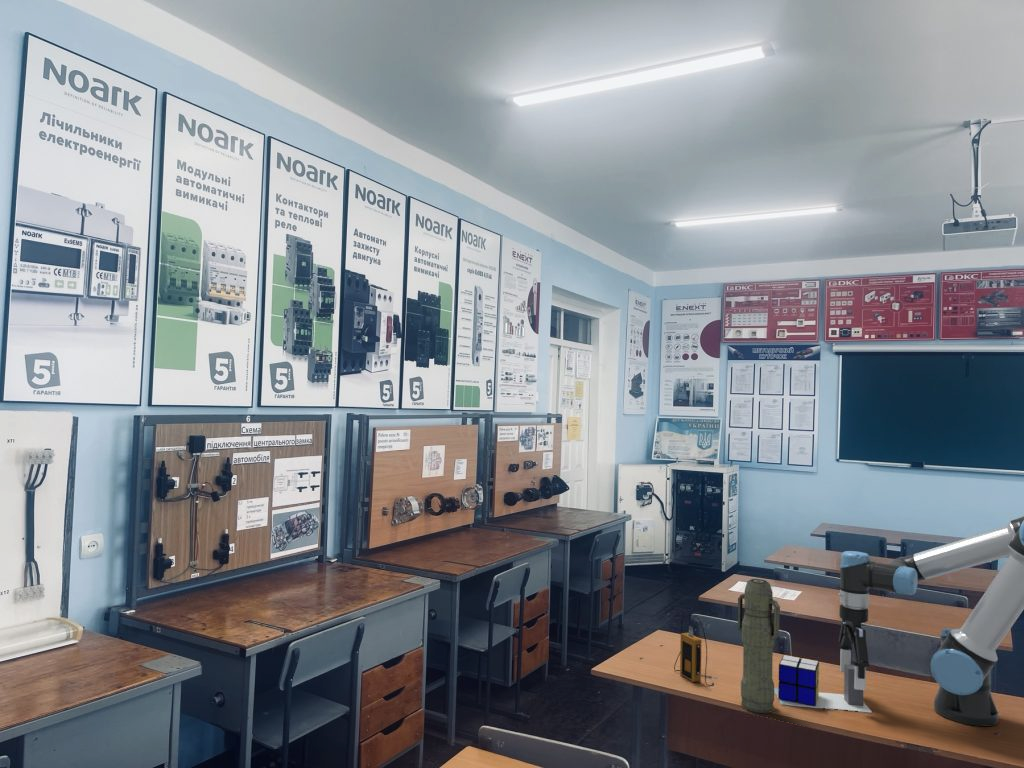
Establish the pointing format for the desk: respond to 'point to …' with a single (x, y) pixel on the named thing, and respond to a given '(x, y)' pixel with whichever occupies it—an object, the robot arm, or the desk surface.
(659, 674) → the desk surface
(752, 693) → the thermos
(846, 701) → the white flat base
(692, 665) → the multimeter
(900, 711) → the desk surface
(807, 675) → the puzzle cube
